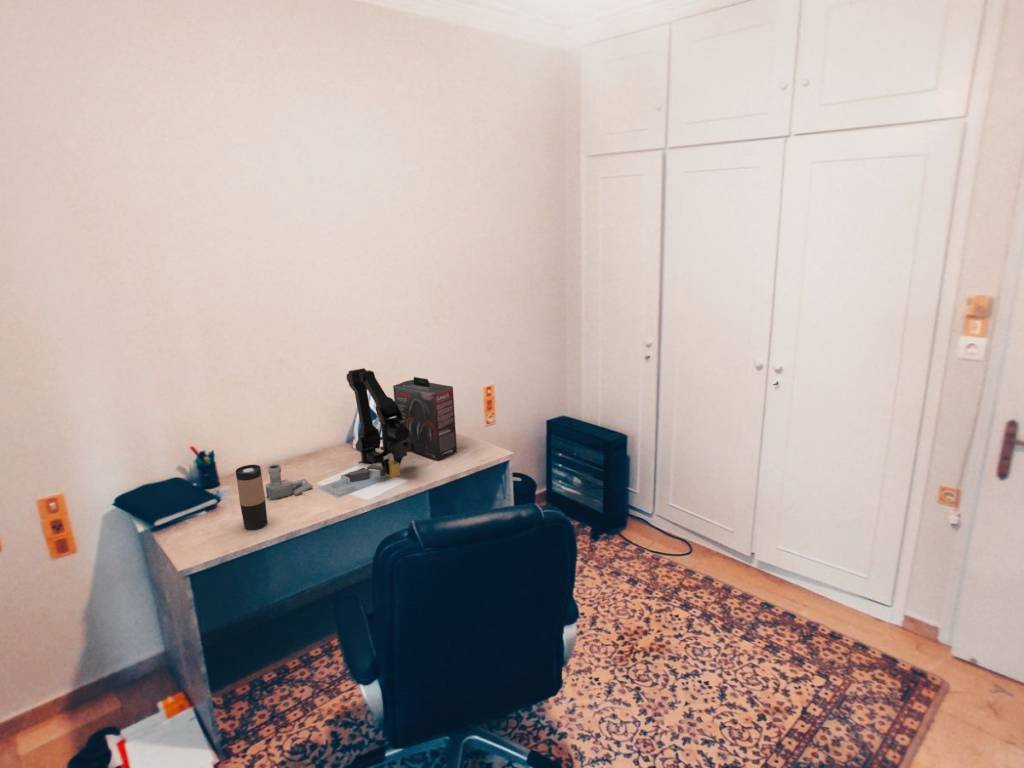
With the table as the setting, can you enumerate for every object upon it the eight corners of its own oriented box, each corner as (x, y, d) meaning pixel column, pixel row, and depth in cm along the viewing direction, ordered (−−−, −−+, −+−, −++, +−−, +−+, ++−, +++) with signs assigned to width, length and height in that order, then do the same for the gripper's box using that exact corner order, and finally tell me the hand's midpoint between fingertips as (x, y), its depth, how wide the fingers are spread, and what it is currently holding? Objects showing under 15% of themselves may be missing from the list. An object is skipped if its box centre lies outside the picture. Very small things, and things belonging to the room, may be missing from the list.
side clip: (341, 481, 235) (340, 475, 234) (364, 473, 242) (363, 467, 241) (348, 485, 231) (347, 478, 231) (371, 476, 239) (370, 470, 238)
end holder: (326, 490, 227) (326, 485, 227) (343, 484, 232) (343, 479, 232) (338, 496, 222) (337, 491, 221) (355, 489, 227) (355, 485, 226)
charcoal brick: (349, 479, 236) (348, 472, 236) (367, 476, 239) (366, 469, 238) (350, 482, 234) (349, 475, 233) (369, 479, 236) (368, 471, 236)
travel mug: (248, 520, 207) (239, 465, 202) (271, 519, 208) (263, 463, 203) (240, 531, 200) (231, 474, 195) (264, 529, 201) (256, 472, 196)
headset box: (396, 450, 269) (391, 376, 260) (417, 442, 278) (412, 370, 270) (438, 462, 254) (433, 384, 246) (458, 452, 264) (454, 378, 256)
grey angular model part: (261, 465, 224) (302, 455, 233) (264, 495, 227) (305, 484, 236) (268, 472, 217) (310, 462, 226) (271, 503, 220) (313, 492, 229)
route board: (317, 489, 230) (316, 480, 229) (382, 467, 250) (381, 458, 249) (337, 500, 221) (336, 490, 220) (403, 476, 241) (402, 467, 240)
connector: (385, 475, 240) (384, 463, 238) (393, 472, 242) (393, 460, 241) (391, 478, 237) (390, 465, 236) (400, 474, 240) (399, 462, 238)
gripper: (381, 446, 223) (384, 485, 227) (422, 432, 236) (424, 470, 240) (364, 439, 231) (367, 477, 235) (404, 426, 244) (407, 463, 248)
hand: (392, 472), depth 239 cm, fingers closed on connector, 4 cm apart
